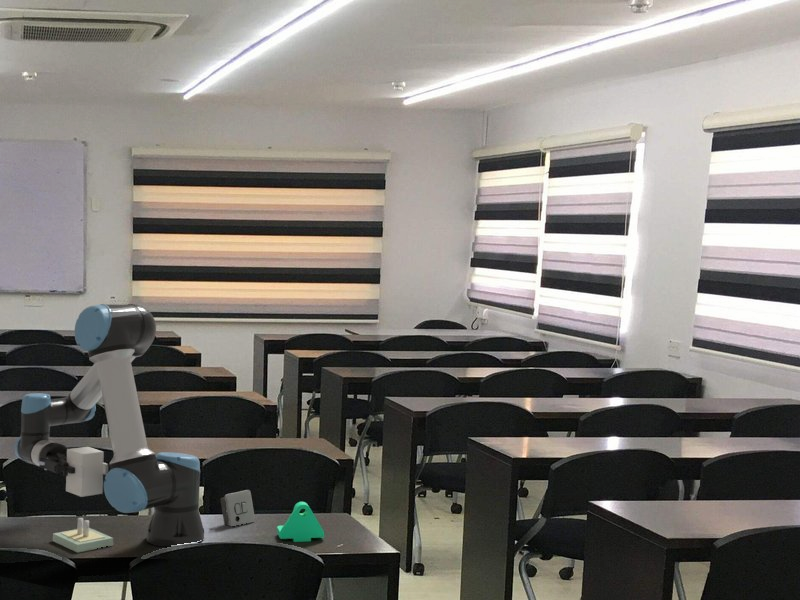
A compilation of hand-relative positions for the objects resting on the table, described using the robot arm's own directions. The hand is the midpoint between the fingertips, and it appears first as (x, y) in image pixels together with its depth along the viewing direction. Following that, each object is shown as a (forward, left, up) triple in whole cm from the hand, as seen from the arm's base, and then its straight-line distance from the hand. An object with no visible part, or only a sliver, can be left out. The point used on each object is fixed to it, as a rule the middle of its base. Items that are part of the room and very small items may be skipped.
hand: (94, 471), depth 257 cm
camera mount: (-40, -37, -20) cm, 58 cm away
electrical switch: (-18, -39, -20) cm, 48 cm away
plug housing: (+5, -2, -6) cm, 8 cm away
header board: (+5, -2, -20) cm, 21 cm away
